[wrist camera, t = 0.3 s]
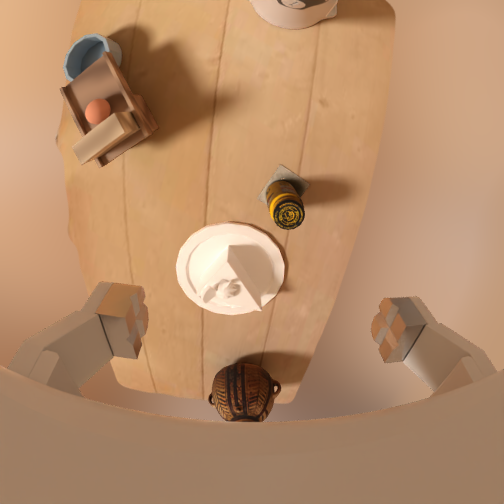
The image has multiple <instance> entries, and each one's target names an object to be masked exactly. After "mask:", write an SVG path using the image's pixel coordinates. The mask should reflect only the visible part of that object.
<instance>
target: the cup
mask: <svg viewBox="0 0 504 504" xmlns="http://www.w3.org/2000/svg"><path fill="white" fill-rule="evenodd" d="M104 51H106V52H109V53H112V55H113V57H114V59H115V61H116V63H117V65H118V67H120V65H121V61H122V50H121V48H120V46H119V44H118V43H116V42H114V41H113V40H111V39H109V38H107V37H104V36H102V35H100V34H90V35H85V36H83V37H82V38H80V39H79V40H77V41H76V42H75V43H74V44H73V45H72V47H71V48H70V50H69V51H68V53H67V54H66V57H65V62H64V67H63V68H64V72H65V76H66V79H68V80H69V81H71V82H72V81H73V80H74V79H75V78H76V77H77V76H78V75H80V74H81V73H82V72H83V71H84V70H86V69H87V68H88V67H89V66H90V65H92V64H93V63H94V62H95V61H97V60H98V59H99V58H101V57H102V56H103V54H102V53H103V52H104Z"/></svg>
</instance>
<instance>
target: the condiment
mask: <svg viewBox="0 0 504 504" xmlns="http://www.w3.org/2000/svg"><path fill="white" fill-rule="evenodd" d="M283 178H284V179H283ZM309 185H310V184H309V183H307V182H306V181H305V180H303V179H302V178H300V177H299V176H297V175H296V174H294V173H293V172H291V171H290V170H288V169H287V168H285V167H284V166H282V165H280V166H279V167H278V169H277V170H276V172H275V173H274V175H273V176H272V177H271V179H270V180H269V182H268V183H267V184H266V186H265V187H264V189H263V190H262V192H261V193H260V195H259V196H258V198H257V199H258V200H260V201H261V202H263V203H265V204H266V205H268V208H269V212H270V215H271V217H272V219H273V220H274V221H275V223H276V224H277V226H279V227H280V228H282V229H286V230H289V229H295V228H296V227H298V226H300V225H301V223H302V222H303V220H304V216H305V211H304V206H303V202H302V200H301V199H300V197H301V196H302V195H303V193H304V192H305V190H306V189H307V188H308V187H309Z"/></svg>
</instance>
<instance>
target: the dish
mask: <svg viewBox="0 0 504 504" xmlns="http://www.w3.org/2000/svg"><path fill="white" fill-rule="evenodd" d="M284 267H285V265H284V261H283V259H282V256H281V253H280V250H279V247H278V246H277V245H276V244H275V243H274V242H273V241H272V239H271V238H270V237H269V236H268V235H267V234H266V233H264V232H262V231H260V230H258V229H256V228H255V227H253V226H251V225H249V224H242V223H236V222H229V221H228V222H222V223H217V224H211V225H207V226H205V227H204V228H202V229H200V230H199V231H197V232H195V233H193V234H192V235H191V236H190V237H189V238H188V240H187V241H186V242H185V244H184V245H183V246H182V247H181V249H180V252H179V256H178V260H177V264H176V271H177V277H178V282H179V284H180V286H181V287H182V289H183V291H184V292H185V294H186V295H187V296H188V297H189V298H190V299H191V300H192V301H194V302H195V303H196V304H197V305H198V306H200V307H202V308H205V309H207V310H210V311H212V312H214V313H221V314H229V315H235V314H242V313H249V312H251V311H253V310H258V311H262V306H264V305H265V304H267V303H268V302H269V301H270V300H271V299H272V298H273V297H274V296H276V294H277V292H278V290H279V288H280V287H281V285H282V283H283V279H284Z"/></svg>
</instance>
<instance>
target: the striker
mask: <svg viewBox="0 0 504 504" xmlns="http://www.w3.org/2000/svg"><path fill="white" fill-rule="evenodd" d="M140 129H141V128H140V126H139V124H138V123H137V121H136V119H135V117H134V115H133V113H132V111H129V112H118V113H113V114H112V115H111V116H109V117H108V118H107V119H105V120H104V121H103V122H101V123H100V124H99V125H97V126H96V127H95V128H94V129H92V130H91V131H90V132H89V133H88V134H86V135H85V136H84V137H83V138H82V139H80V140H79V141H78V142H77V143H76V144H75V145H73V146H72V148H73V150H74V152H75V154H76V156H77V158H78V160H79V161H80V163H81V165H83V164H85V163H87V162H89V161H91V160H94V159H96V158H98V157H101V156H102V155H104V154H105V153H106V152H108V151H109V150H110V149H112V148H113V147H115V146H116V145H117V144H119V143H120V142H122V141H123V140H125V139H126V138H127V137H129V136H130V135H132V134H133V133H135V132H136V131H138V130H140Z"/></svg>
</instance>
